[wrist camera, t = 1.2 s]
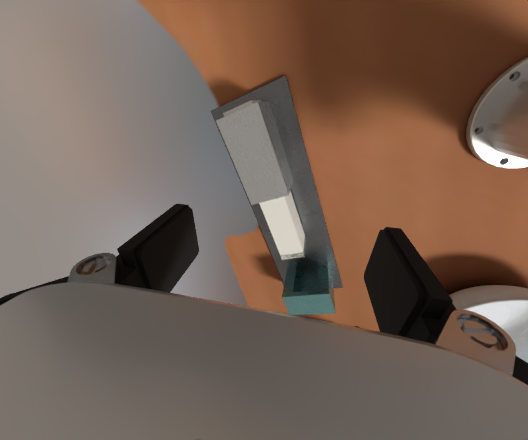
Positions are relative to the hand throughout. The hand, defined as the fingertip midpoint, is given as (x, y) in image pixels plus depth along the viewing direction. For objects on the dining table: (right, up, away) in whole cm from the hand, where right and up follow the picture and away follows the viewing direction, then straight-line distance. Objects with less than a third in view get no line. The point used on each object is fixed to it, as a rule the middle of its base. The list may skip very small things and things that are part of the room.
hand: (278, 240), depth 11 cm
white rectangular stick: (+1, +7, +24) cm, 25 cm away
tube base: (+4, +3, +27) cm, 28 cm away
